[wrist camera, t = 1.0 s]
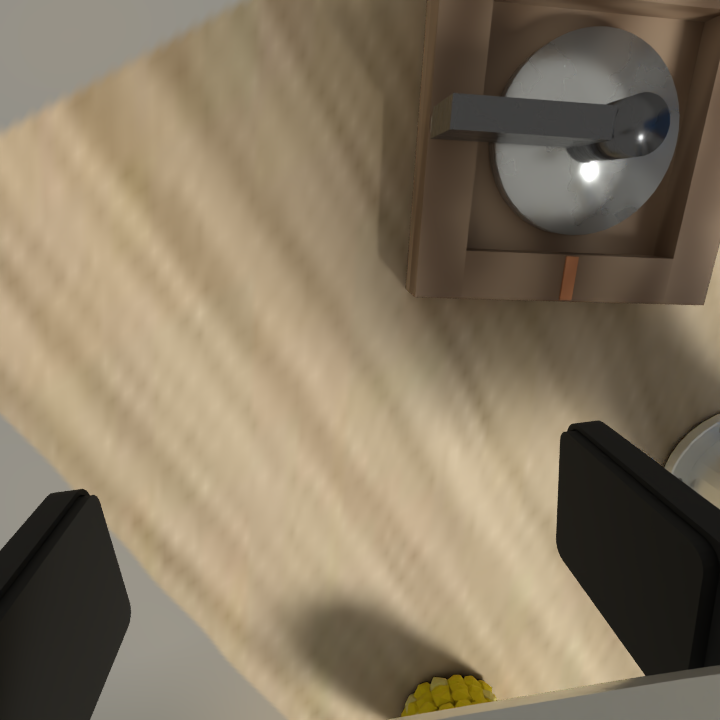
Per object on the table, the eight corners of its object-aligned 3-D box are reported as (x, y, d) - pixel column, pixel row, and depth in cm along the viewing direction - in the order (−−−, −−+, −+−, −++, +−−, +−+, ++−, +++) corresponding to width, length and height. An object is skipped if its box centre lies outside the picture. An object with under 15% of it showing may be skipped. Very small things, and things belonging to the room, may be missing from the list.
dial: (685, 41, 30) (778, 2, 24) (643, 237, 34) (716, 245, 28) (431, 17, 29) (464, -31, 23) (415, 227, 32) (440, 233, 26)
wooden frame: (746, -23, 31) (796, -49, 28) (670, 296, 37) (705, 305, 34) (431, -58, 29) (447, -90, 26) (405, 288, 35) (415, 297, 32)
